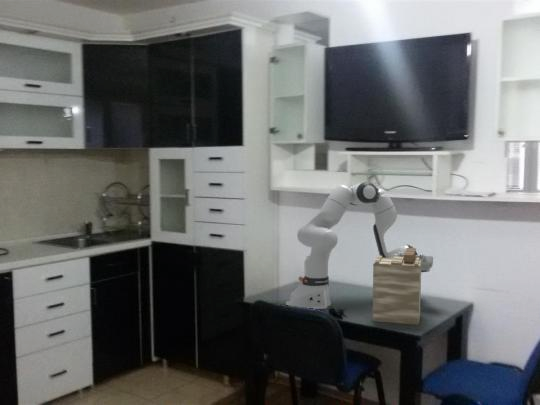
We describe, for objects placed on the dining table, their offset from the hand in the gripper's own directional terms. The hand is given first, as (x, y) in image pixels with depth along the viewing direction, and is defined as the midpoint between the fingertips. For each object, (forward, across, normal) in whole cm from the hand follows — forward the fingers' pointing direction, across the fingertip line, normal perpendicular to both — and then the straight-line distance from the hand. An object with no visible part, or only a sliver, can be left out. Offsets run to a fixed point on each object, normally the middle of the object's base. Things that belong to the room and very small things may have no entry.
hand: (410, 254), depth 265 cm
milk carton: (-37, -54, +10) cm, 66 cm away
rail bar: (+6, 0, +5) cm, 8 cm away
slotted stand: (-2, -5, +30) cm, 31 cm away
